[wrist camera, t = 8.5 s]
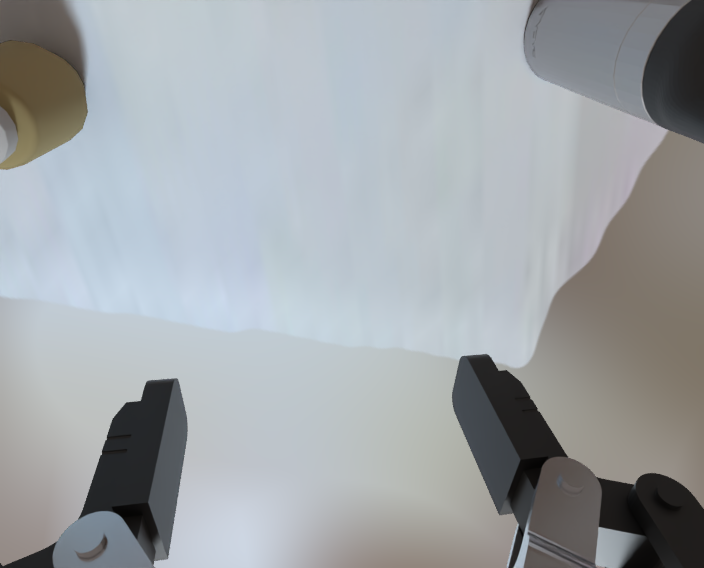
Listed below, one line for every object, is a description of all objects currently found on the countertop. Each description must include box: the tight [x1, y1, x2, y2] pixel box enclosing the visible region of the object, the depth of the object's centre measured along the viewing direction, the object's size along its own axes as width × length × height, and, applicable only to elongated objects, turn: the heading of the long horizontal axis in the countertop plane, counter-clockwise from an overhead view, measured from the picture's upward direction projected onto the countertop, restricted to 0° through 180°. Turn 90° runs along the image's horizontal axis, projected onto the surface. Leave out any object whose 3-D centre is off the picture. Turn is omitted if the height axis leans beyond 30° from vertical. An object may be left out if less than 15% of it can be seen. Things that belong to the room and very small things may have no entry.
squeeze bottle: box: [0, 40, 88, 170], centre depth 34 cm, size 8×8×18 cm
